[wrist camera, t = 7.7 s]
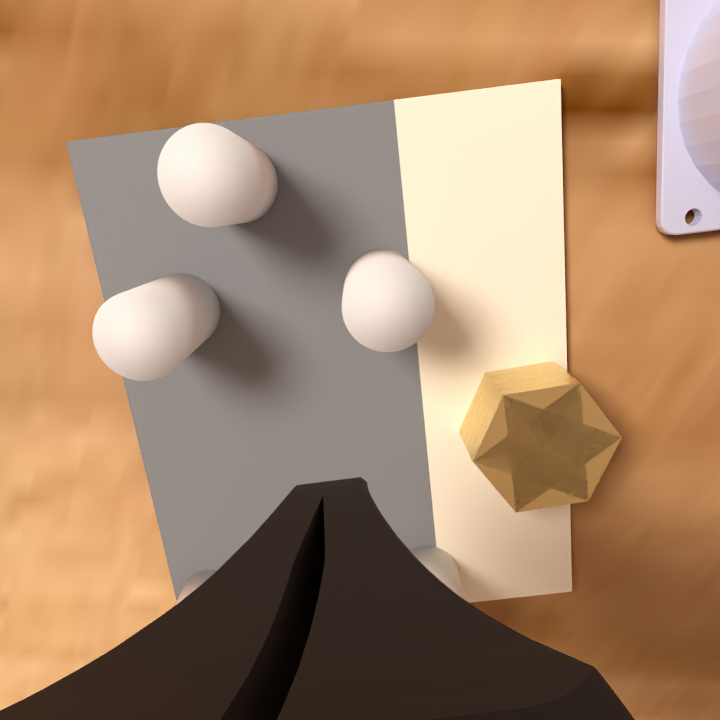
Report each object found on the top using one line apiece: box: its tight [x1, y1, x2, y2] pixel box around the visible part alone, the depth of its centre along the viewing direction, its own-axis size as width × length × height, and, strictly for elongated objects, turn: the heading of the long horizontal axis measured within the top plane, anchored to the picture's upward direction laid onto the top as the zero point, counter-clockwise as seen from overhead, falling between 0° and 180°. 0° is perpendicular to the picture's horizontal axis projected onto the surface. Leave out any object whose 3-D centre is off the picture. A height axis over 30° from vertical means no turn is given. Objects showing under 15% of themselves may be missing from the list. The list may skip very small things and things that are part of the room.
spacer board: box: [66, 79, 572, 605], centre depth 18 cm, size 15×18×4 cm
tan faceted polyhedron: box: [459, 361, 622, 513], centre depth 18 cm, size 5×4×2 cm
